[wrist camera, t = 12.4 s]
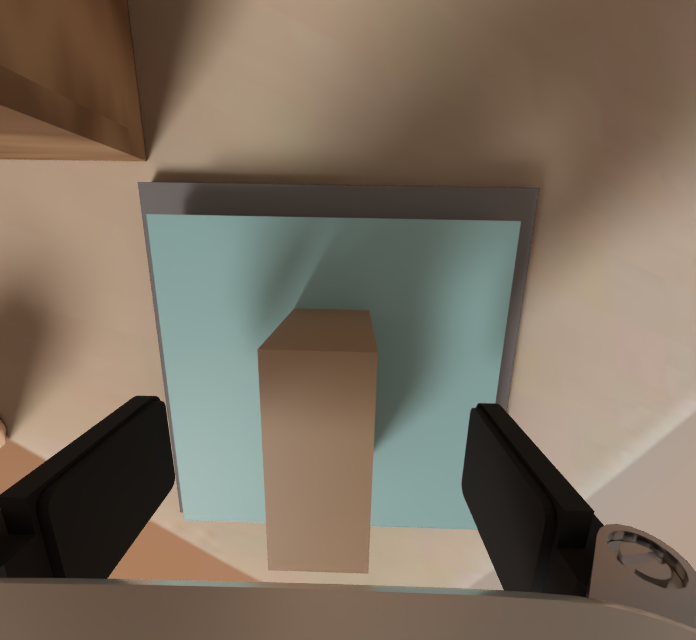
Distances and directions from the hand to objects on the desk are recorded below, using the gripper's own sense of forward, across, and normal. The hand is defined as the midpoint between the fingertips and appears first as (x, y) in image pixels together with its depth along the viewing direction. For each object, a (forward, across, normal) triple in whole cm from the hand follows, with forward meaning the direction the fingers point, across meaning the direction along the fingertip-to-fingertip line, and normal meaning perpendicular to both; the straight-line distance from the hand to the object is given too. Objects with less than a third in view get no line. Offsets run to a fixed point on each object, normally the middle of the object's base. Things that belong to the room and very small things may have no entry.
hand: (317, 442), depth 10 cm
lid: (+5, 0, 0) cm, 5 cm away
